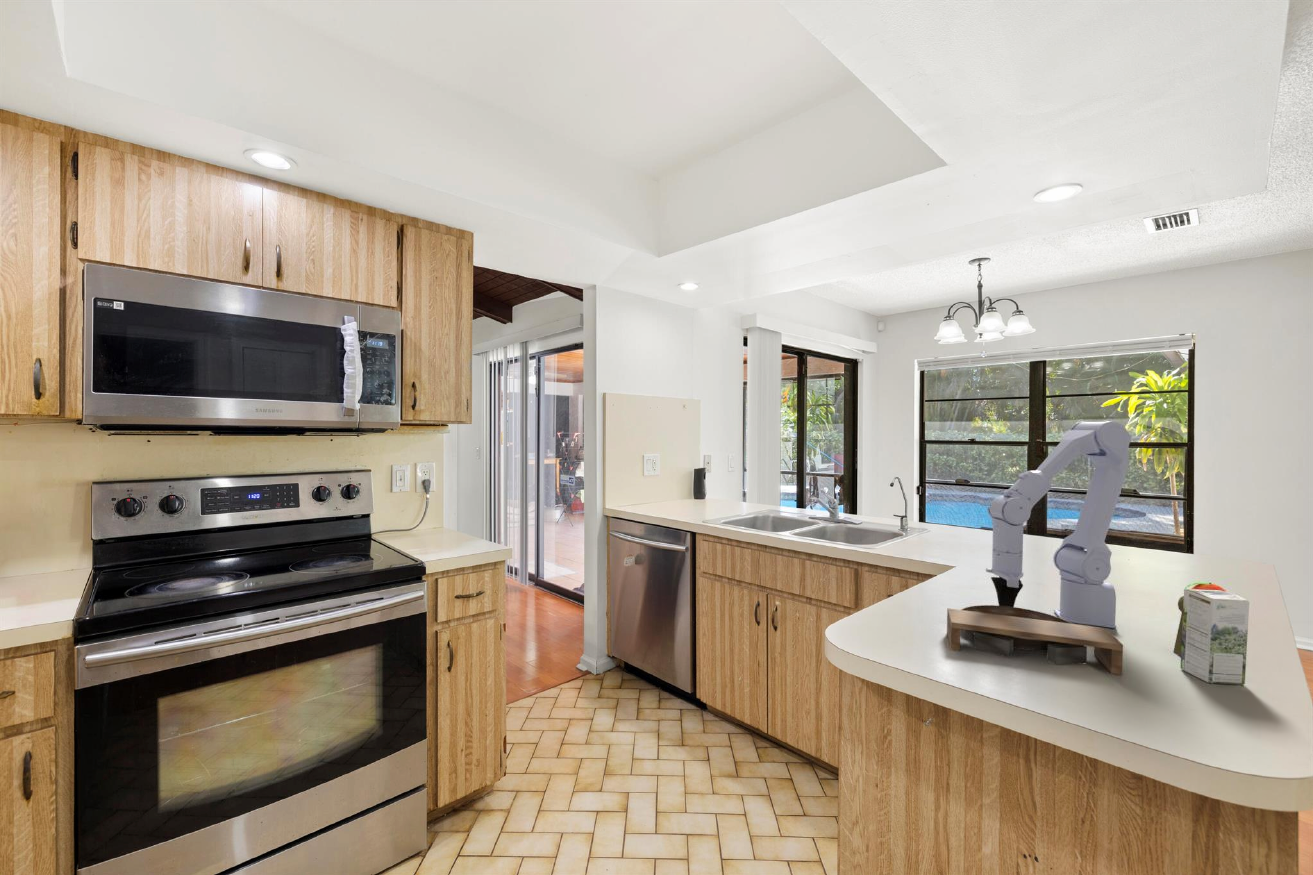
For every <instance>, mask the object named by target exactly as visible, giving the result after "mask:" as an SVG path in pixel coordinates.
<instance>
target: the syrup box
mask: <svg viewBox="0 0 1313 875" xmlns="http://www.w3.org/2000/svg"><path fill="white" fill-rule="evenodd" d="M1184 589H1185V588H1184ZM1184 589H1183V596H1184V602H1183V624H1182V645H1181V656H1180V666H1179V668H1180V669H1181V670H1182V671H1184V672H1186V673H1187V674H1191V675H1192V676H1194V677H1195V678H1198V679H1199V680H1202V681H1204V682H1206V683H1207V684H1220V685H1221V684H1222V685H1223V684H1224V685H1238V686H1239V685H1241V686H1244V685H1245V684H1246V669H1247V668H1246V667H1247V651H1248V650H1247V649H1248V635H1249V634H1248V632H1249V631H1248V630H1249V618H1250V617H1249V615H1250V614H1249V613H1250V601H1249V600H1248V599H1246V598H1243V597H1241V596H1239V595H1237V594H1233V593H1232V592H1227V591H1226V592H1224V591H1219V590H1195V589H1192V588H1190V589H1188V588H1186V589H1185V590H1184Z"/></svg>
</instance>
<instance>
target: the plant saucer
mask: <svg viewBox="0 0 1313 875" xmlns="http://www.w3.org/2000/svg"><path fill="white" fill-rule="evenodd" d="M960 610H965V611H973V612H981V613H989V614H997V615H1005V616H1013V617H1021V618H1029V619H1037V620H1045V621H1053V622H1061V623H1069V624H1072V623H1070V622H1068V621H1066V620H1063V619H1061V618H1059V616H1055V615H1052V614H1049V613H1045V612H1041V611H1037V610H1032V609H1028V608H1023V607H1015V606H1014V607H1008V606H999V605H996V604H995V605H994V604H993V605H992V604H991V605H989V604H988V605H987V604H983V605H972V606H971V605H970V606H966V607H964V608H961V609H960ZM969 631H970V632H972V634H974V632H975V631H974V630H969ZM993 634H996V633H993ZM997 635H1000V636H1004V637H1007V638H1011V639H1013V649H1020V650H1025V651H1026V650H1027V651H1035V652H1040V651H1041V652H1047V647H1048V644H1058V643H1062V642H1055V641H1047V640H1040V639H1033V638H1025V637H1018V636H1011V635H1003V634H997Z"/></svg>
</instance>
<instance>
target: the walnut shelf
mask: <svg viewBox="0 0 1313 875" xmlns="http://www.w3.org/2000/svg"><path fill="white" fill-rule="evenodd" d="M946 611H947V616H946V618H947V619H946V636H947V639H948V643H949V647H950V650H951V651H961V630H966V631H970V630H974V631H975V632H974V633H973V648H974V649H979V650H982V651H985V652H988V653H991V654H995V655H999V656H1001V657H1005V658H1007V659H1008V658H1011V657H1013V655H1014V648H1013V639H1011V638H1007V637H1004V636H1000V635H997V634H1003V635H1011V636H1018V637H1025V638H1033V639H1040V640H1047V641H1055V642H1062V643H1058V644H1048V647H1047V651H1046V653H1047V655H1046V659H1047V660H1046V661H1047V662H1049V663H1052V664H1053V663H1054V664H1053V665H1055V666H1065V665H1084V664H1083V663H1087V662H1088V660H1087V657H1088V656H1087V655H1088V647H1093V655H1094V654H1095V655H1094V656H1095V657H1096V658H1097V659H1098V661H1099V662H1100V661H1101V662H1102V663H1103V664H1102V663H1101V662H1100V663H1101V664H1102V665H1103V666H1104V668H1106V669H1107V670H1108V672H1109V671H1110V672H1111V673H1110V672H1109V673H1110V674H1113V675H1118V674H1119V675H1120V676H1122V675H1123V661H1124V660H1123V655H1124V645H1123V643H1122V642H1120V640H1118V638H1116V637H1115V635H1113V634H1112V633H1111V632H1110V631H1109V630H1107V629H1106V627H1102V626H1094V625H1086V624H1078V623H1071V624H1069V623H1061V622H1053V621H1045V620H1037V619H1029V618H1021V617H1013V616H1005V615H997V614H989V613H981V612H973V611H965V610H961V609H956V608H955V609H954V608H947V610H946ZM993 633H996V634H993ZM1119 675H1118V676H1119Z"/></svg>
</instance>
